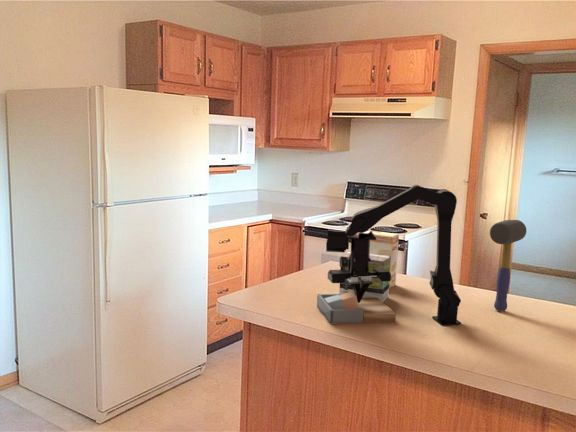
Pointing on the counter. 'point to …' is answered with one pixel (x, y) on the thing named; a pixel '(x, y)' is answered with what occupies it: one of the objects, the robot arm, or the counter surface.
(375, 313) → the board
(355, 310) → the tray
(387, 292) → the tea box
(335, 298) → the gray cube
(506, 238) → the rubber mallet
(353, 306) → the peach cube
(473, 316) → the counter surface
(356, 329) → the counter surface
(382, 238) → the coffeecake box
